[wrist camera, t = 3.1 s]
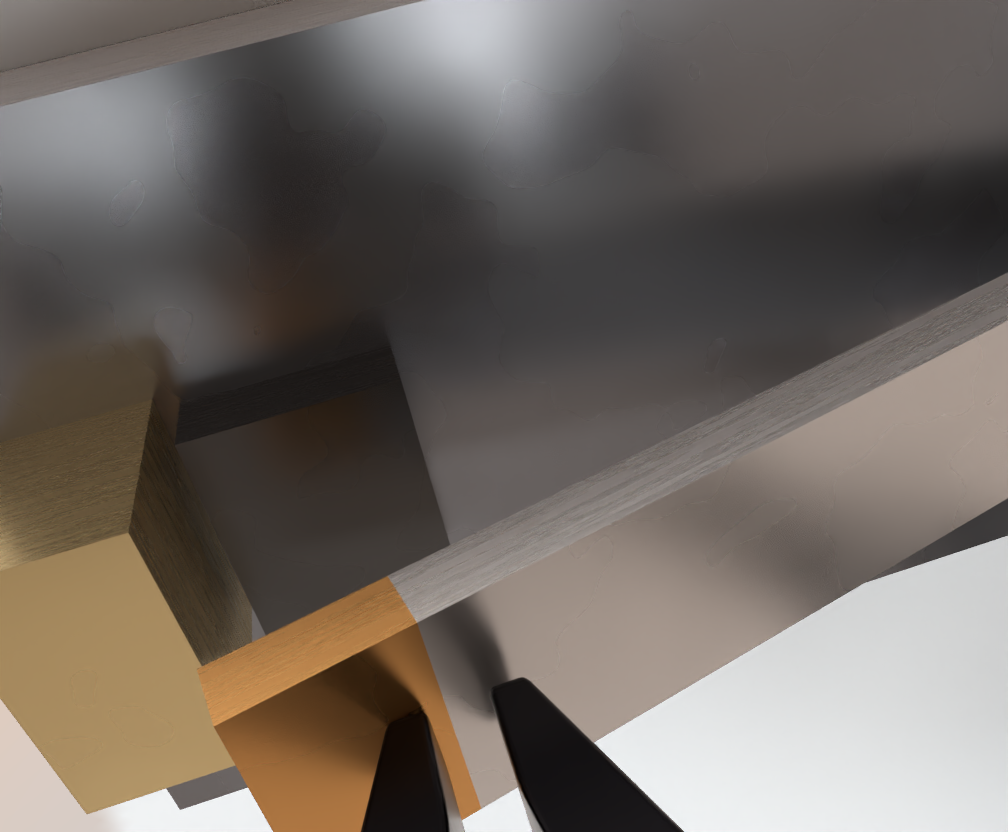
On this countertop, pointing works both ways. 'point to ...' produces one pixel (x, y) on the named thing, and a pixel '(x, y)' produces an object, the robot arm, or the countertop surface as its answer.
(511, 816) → the countertop surface
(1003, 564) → the countertop surface
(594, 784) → the robot arm
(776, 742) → the countertop surface
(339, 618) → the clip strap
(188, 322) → the grey lever base
